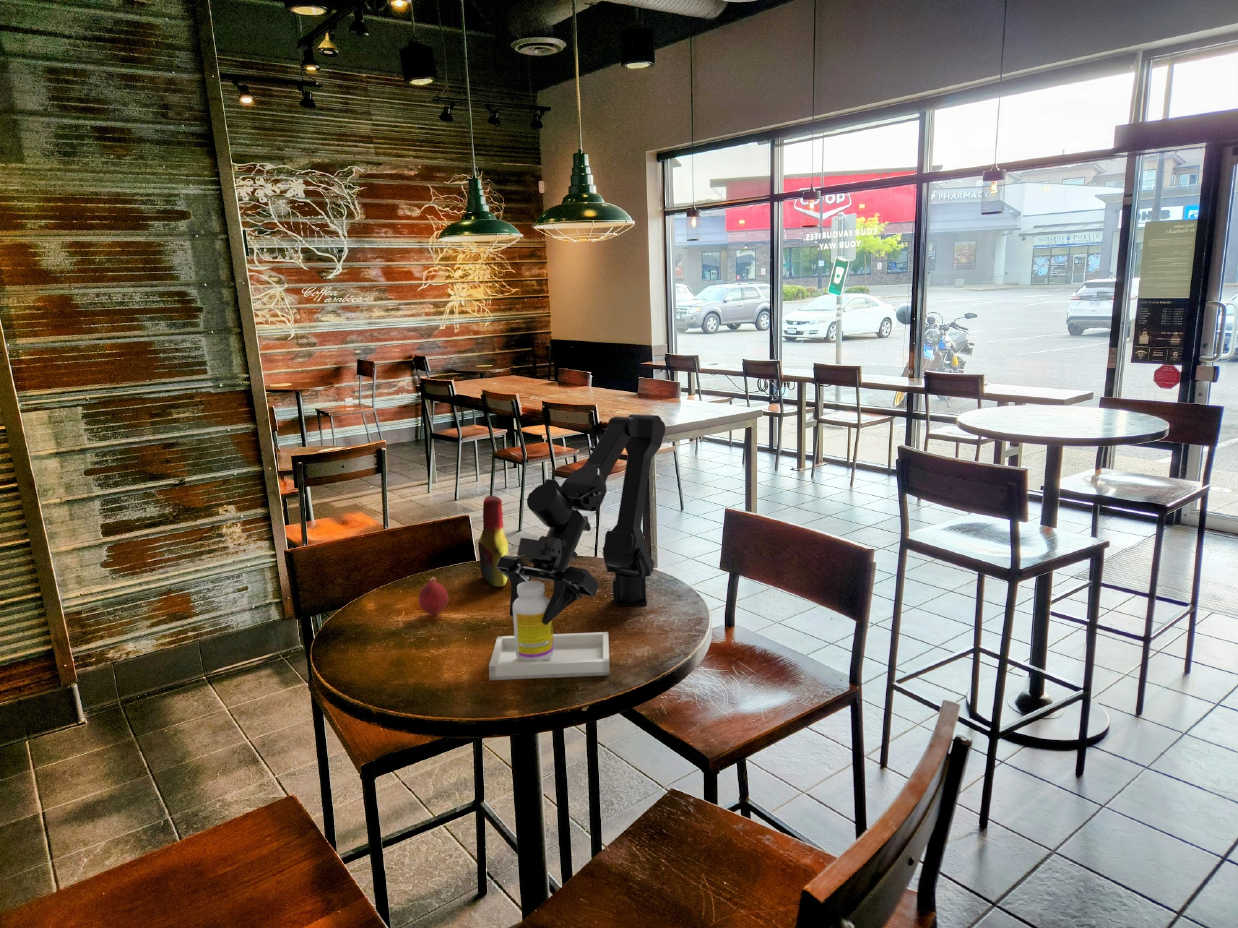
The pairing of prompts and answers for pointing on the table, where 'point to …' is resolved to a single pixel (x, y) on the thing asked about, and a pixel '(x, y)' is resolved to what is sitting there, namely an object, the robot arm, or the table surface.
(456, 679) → the table surface
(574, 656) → the tray
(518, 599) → the supplement bottle
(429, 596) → the onion
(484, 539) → the bottle
